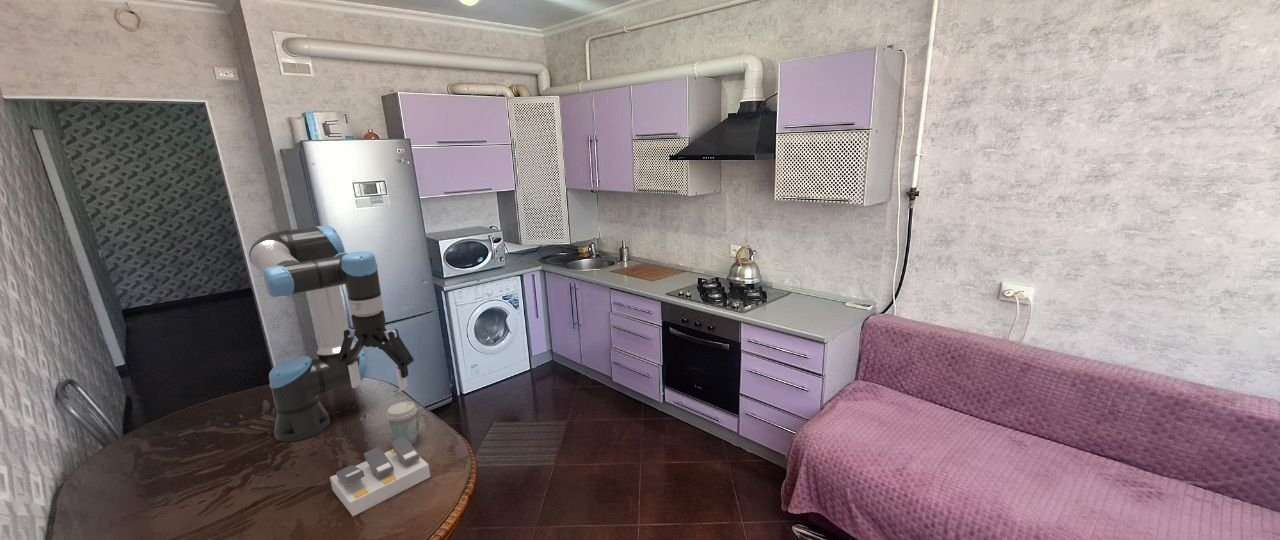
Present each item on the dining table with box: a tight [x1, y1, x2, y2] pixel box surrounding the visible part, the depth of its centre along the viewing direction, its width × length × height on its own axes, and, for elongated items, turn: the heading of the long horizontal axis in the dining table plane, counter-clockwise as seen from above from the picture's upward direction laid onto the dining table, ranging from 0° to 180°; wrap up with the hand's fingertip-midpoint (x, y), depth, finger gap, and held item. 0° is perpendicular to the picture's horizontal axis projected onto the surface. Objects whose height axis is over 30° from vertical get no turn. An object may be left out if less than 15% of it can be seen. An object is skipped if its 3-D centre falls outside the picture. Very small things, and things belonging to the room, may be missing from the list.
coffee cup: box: [386, 401, 418, 446], centre depth 156 cm, size 9×8×12 cm
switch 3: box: [389, 436, 420, 466], centre depth 141 cm, size 9×4×2 cm, turn 48°
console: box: [329, 448, 431, 517], centre depth 138 cm, size 15×20×6 cm
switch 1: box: [335, 464, 365, 484], centre depth 132 cm, size 9×4×2 cm, turn 47°
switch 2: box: [363, 446, 394, 478], centre depth 136 cm, size 9×4×2 cm, turn 48°
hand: (379, 387), depth 136 cm, fingers open, 13 cm apart
